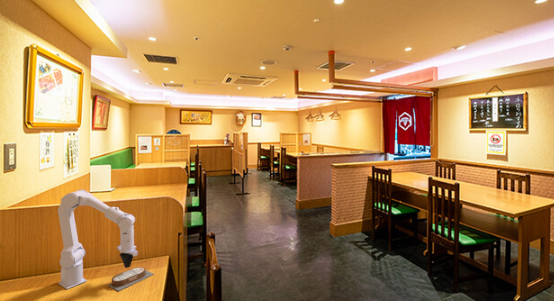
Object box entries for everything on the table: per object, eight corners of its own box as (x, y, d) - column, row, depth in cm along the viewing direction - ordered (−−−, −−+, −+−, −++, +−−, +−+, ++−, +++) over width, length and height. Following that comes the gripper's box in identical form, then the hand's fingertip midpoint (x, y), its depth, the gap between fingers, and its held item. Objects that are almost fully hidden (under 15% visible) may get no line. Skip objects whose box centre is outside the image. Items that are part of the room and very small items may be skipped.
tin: (108, 282, 119) (115, 290, 114) (108, 276, 119) (116, 283, 114) (140, 270, 131) (148, 276, 126) (141, 264, 131) (149, 270, 126)
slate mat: (108, 285, 117) (108, 284, 117) (143, 269, 132) (143, 269, 132) (118, 291, 113) (118, 290, 113) (153, 274, 127) (153, 273, 127)
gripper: (143, 240, 124) (143, 267, 124) (127, 234, 131) (127, 260, 131) (129, 245, 117) (129, 273, 118) (112, 239, 125) (113, 265, 125)
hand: (127, 266), depth 124 cm, fingers closed
